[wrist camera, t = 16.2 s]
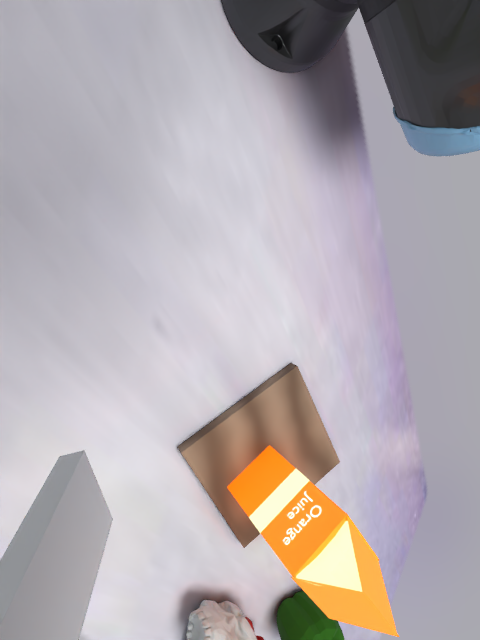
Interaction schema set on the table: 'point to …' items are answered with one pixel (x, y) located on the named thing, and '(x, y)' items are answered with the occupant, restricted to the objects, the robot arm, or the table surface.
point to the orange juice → (315, 542)
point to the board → (260, 442)
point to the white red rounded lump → (219, 623)
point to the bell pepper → (305, 620)
